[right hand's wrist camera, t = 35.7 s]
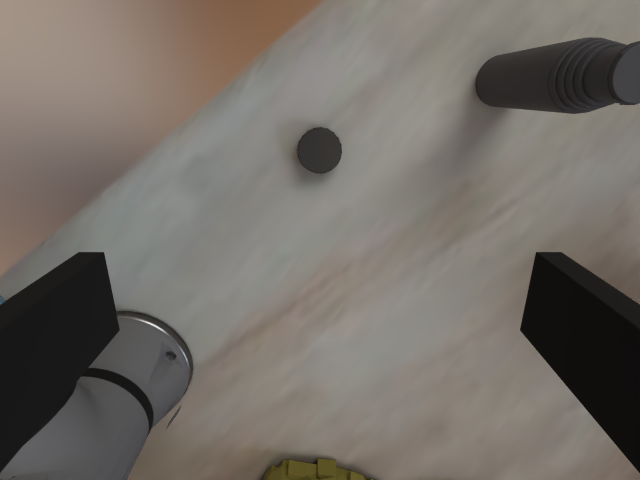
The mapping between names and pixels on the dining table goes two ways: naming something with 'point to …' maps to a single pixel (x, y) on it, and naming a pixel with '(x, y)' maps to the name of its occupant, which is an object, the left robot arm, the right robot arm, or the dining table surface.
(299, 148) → the cap
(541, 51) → the bottle
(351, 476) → the trophy
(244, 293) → the dining table surface
